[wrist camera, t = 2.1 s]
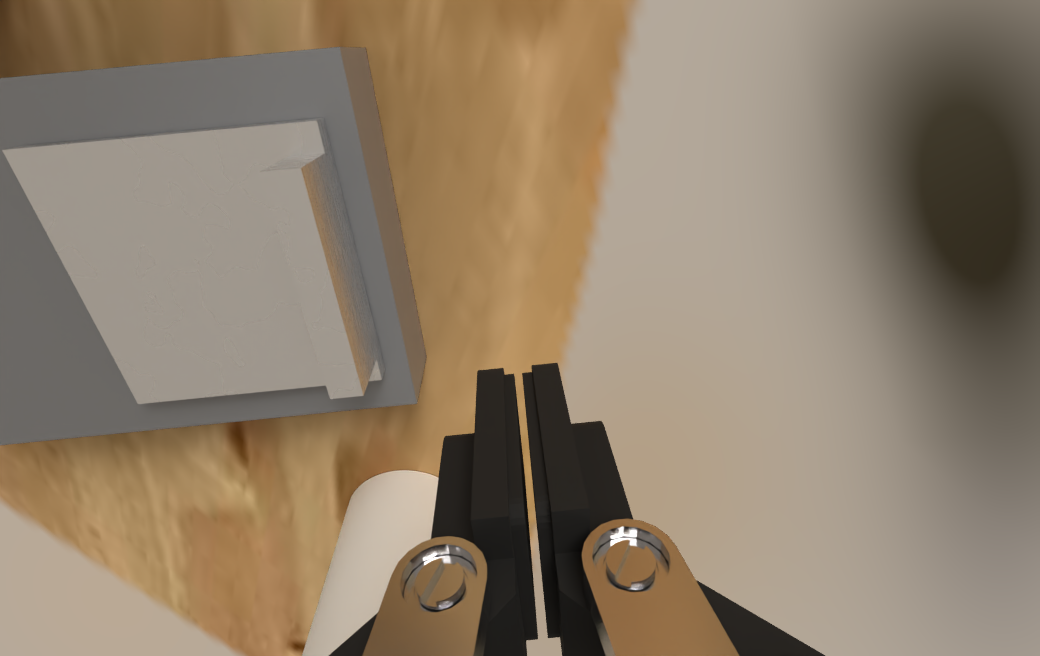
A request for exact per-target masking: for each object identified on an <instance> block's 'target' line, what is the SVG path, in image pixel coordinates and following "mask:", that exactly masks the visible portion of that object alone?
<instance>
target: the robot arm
mask: <svg viewBox="0 0 1040 656" xmlns="http://www.w3.org/2000/svg"><path fill="white" fill-rule="evenodd" d="M522 375H523V385H524V396H525V407H526V417H527V428H528V438H529V449H530V459H531V470H532V480H533V490H534V501H535V511H536V521H537V531H538V541H539V551H540V561H541V572H542V582H543V592H544V602H545V612H546V623H547V633H548V638H554V637H560V640H561V649H562V656H825V655H823V654H822V653H820V652H818V651H816V650H815V649H813V648H811V647H810V646H808V645H806V644H804V643H803V642H801V641H799V640H798V639H796V638H794V637H792V636H791V635H789V634H787V633H785V632H784V631H782V630H781V629H778V628H777V627H775V626H774V625H772V624H770V623H769V622H767V621H765V620H763V619H762V618H760V617H758V616H757V615H755V614H753V613H752V612H750V611H748V610H746V609H744V608H743V607H741V606H739V605H738V604H736V603H734V602H733V601H731V600H729V599H728V598H726V597H724V596H722V595H721V594H719V593H717V592H715V591H714V590H712V589H711V588H709V587H707V586H705V585H704V584H702V583H700V582H699V581H697V580H696V579H695V578H694V576H693V574H692V572H691V571H690V569H689V567H688V566H687V564H686V562H685V560H684V559H683V557H682V555H681V553H680V552H679V550H678V548H677V546H676V545H675V544H674V543H673V542H672V540H671V539H670V538H669V536H668V535H667V534H665V533H664V532H663V531H661V530H660V529H658V528H657V527H656V526H653V525H651V524H648V523H646V522H644V521H640V520H633V517H632V514H631V511H630V508H629V505H628V501H627V498H626V495H625V492H624V488H623V485H622V482H621V479H620V475H619V472H618V470H617V466H616V463H615V459H614V456H613V453H612V450H611V447H610V443H609V440H608V437H607V434H606V431H605V427H604V425H603V423H602V422H601V421H596V422H586V423H575V424H571V422H570V417H569V413H568V408H567V404H566V399H565V395H564V390H563V386H562V381H561V377H560V372H559V367H558V364H557V363H551V364H541V365H532V372H529V373H522ZM534 639H538V633H537V622H536V609H535V596H534V584H533V571H532V559H531V546H530V534H529V522H528V509H527V497H526V485H525V474H524V464H523V455H522V445H521V435H520V426H519V416H518V406H517V397H516V387H515V377H514V374H508V375H504V369H503V368H499V369H489V370H478V372H477V392H476V414H475V433H472V434H462V435H452V436H445V438H444V441H443V448H442V456H441V463H440V471H439V479H438V487H437V495H436V502H435V510H434V518H433V526H432V533H431V539H430V540H427V541H424V542H422V543H420V544H419V545H417V546H415V547H414V548H412V549H411V550H409V551H408V552H407V553H406V554H405V555H404V556H403V558H402V559H401V560H400V561H399V562H398V564H397V566H396V567H395V569H394V571H393V573H392V575H391V578H390V581H389V583H388V586H387V589H386V592H385V595H384V597H383V600H382V603H381V606H380V608H379V611H378V613H377V614H376V615H374V616H373V617H372V618H371V619H370V620H369V621H368V622H366V623H365V624H364V625H363V626H362V627H361V628H360V629H358V630H357V631H356V632H355V633H354V634H353V635H352V636H350V637H349V638H348V639H347V640H346V641H345V642H344V643H342V644H341V645H340V646H339V647H338V648H337V649H336V650H334V651H333V652H332V653H331V654H330V655H329V656H527V649H526V640H534Z"/></svg>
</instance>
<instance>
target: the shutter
mask: <svg viewBox="0 0 1040 656" xmlns="http://www.w3.org/2000/svg"><path fill="white" fill-rule="evenodd" d="M2 151H3V153H4V155H5V157H6V158H7V160H8V162H9V164H10V166H11V168H12V170H13V172H14V173H15V175H16V177H17V179H18V181H19V183H20V185H21V186H22V188H23V190H24V192H25V194H26V196H27V198H28V200H29V201H30V203H31V205H32V207H33V209H34V211H35V213H36V214H37V216H38V218H39V220H40V222H41V224H42V226H43V228H44V229H45V231H46V233H47V235H48V237H49V239H50V241H51V242H52V244H53V246H54V248H55V250H56V252H57V254H58V256H59V257H60V259H61V261H62V263H63V265H64V267H65V269H66V271H67V272H68V274H69V276H70V278H71V280H72V282H73V284H74V285H75V287H76V289H77V291H78V293H79V295H80V297H81V299H82V300H83V302H84V304H85V306H86V308H87V310H88V312H89V313H90V315H91V317H92V319H93V321H94V323H95V325H96V327H97V328H98V330H99V332H100V334H101V336H102V338H103V340H104V342H105V343H106V345H107V347H108V349H109V351H110V353H111V355H112V356H113V358H114V360H115V362H116V364H117V366H118V368H119V370H120V371H121V373H122V375H123V377H124V379H125V381H126V383H127V384H128V386H129V388H130V390H131V392H132V394H133V396H134V398H135V399H136V401H137V403H138V404H144V403H154V402H165V401H175V400H185V399H195V398H205V397H215V396H225V395H235V394H245V393H255V392H265V391H275V390H286V389H296V388H306V387H316V386H326V387H327V391H328V394H329V397H330V399H336V398H346V397H356V396H364V393H365V390H366V387H367V385H368V382H369V381H376V380H382V378H383V375H384V372H385V367H384V363H383V358H382V354H381V350H380V346H379V342H378V338H377V334H376V330H375V326H374V322H373V318H372V313H371V309H370V305H369V301H368V297H367V293H366V289H365V285H364V281H363V277H362V273H361V268H360V264H359V260H358V256H357V252H356V248H355V244H354V240H353V236H352V232H351V228H350V223H349V219H348V215H347V211H346V207H345V203H344V199H343V195H342V191H341V187H340V183H339V178H338V174H337V170H336V166H335V162H334V158H333V154H332V150H331V146H330V142H329V138H328V133H327V129H326V125H325V121H324V118H316V119H305V120H295V121H284V122H273V123H263V124H252V125H241V126H231V127H220V128H209V129H199V130H188V131H177V132H167V133H156V134H145V135H135V136H124V137H113V138H103V139H92V140H81V141H71V142H60V143H49V144H39V145H28V146H20V147H15V148H10V149H5V150H2Z"/></svg>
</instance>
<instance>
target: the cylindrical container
mask: <svg viewBox="0 0 1040 656" xmlns="http://www.w3.org/2000/svg"><path fill="white" fill-rule="evenodd" d="M438 479H439V478H438V477H436V476H433V475H431V474H428V473H423V472H419V471H410V470H400V471H391V472H386V473H382V474H379V475H377V476H374V477H372V478H370V479H368V480H367V481H365V482H364V483H362V484H361V485H360V486H359V487H358V488H357V489H356V490H355V492H354V493H353V495H352V496H351V499H350V502H349V505H348V508H347V511H346V515H345V518H344V521H343V524H342V528H341V531H340V534H339V537H338V541H337V544H336V547H335V550H334V554H333V557H332V560H331V563H330V567H329V570H328V573H327V576H326V580H325V583H324V586H323V589H322V593H321V596H320V599H319V602H318V606H317V609H316V612H315V615H314V618H313V622H312V625H311V628H310V631H309V635H308V638H307V641H306V644H305V648H304V651H303V654H302V656H329V655H330V654H331V653H332V652H333V651H334V650H336V649H337V648H338V647H339V646H340V645H341V644H342V643H344V642H345V641H346V640H347V639H348V638H349V637H350V636H352V635H353V634H354V633H355V632H356V631H357V630H358V629H360V628H361V627H362V626H363V625H364V624H365V623H366V622H368V621H369V620H370V619H371V618H372V617H373V616H374V615H376V614H377V613H378V611H379V608H380V606H381V603H382V600H383V597H384V595H385V592H386V589H387V586H388V583H389V581H390V578H391V575H392V573H393V571H394V569H395V567H396V566H397V564H398V562H399V561H400V560H401V559H402V558H403V556H404V555H405V554H406V553H407V552H408V551H409V550H411V549H412V548H414V547H415V546H417V545H419V544H420V543H422V542H424V541H427V540H430V539H431V533H432V526H433V518H434V510H435V502H436V495H437V487H438Z"/></svg>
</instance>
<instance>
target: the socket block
mask: <svg viewBox="0 0 1040 656" xmlns="http://www.w3.org/2000/svg"><path fill="white" fill-rule="evenodd" d="M316 118H324V121H325V125H326V129H327V133H328V138H329V142H330V146H331V150H332V154H333V158H334V162H335V166H336V170H337V174H338V178H339V183H340V187H341V191H342V195H343V199H344V203H345V207H346V211H347V215H348V219H349V223H350V228H351V232H352V236H353V240H354V244H355V248H356V252H357V256H358V260H359V264H360V268H361V273H362V277H363V281H364V285H365V289H366V293H367V297H368V301H369V305H370V309H371V313H372V318H373V322H374V326H375V330H376V334H377V338H378V342H379V346H380V350H381V354H382V358H383V363H384V367H385V372H384V375H383V378H382V380H376V381H369V382H368V385H367V387H366V390H365V393H364V396H356V397H346V398H336V399H330V397H329V394H328V391H327V387H326V386H316V387H306V388H296V389H286V390H275V391H265V392H255V393H245V394H235V395H225V396H215V397H205V398H195V399H185V400H175V401H165V402H154V403H144V404H138V403H137V401H136V399H135V398H134V396H133V394H132V392H131V390H130V388H129V386H128V384H127V383H126V381H125V379H124V377H123V375H122V373H121V371H120V370H119V368H118V366H117V364H116V362H115V360H114V358H113V356H112V355H111V353H110V351H109V349H108V347H107V345H106V343H105V342H104V340H103V338H102V336H101V334H100V332H99V330H98V328H97V327H96V325H95V323H94V321H93V319H92V317H91V315H90V313H89V312H88V310H87V308H86V306H85V304H84V302H83V300H82V299H81V297H80V295H79V293H78V291H77V289H76V287H75V285H74V284H73V282H72V280H71V278H70V276H69V274H68V272H67V271H66V269H65V267H64V265H63V263H62V261H61V259H60V257H59V256H58V254H57V252H56V250H55V248H54V246H53V244H52V242H51V241H50V239H49V237H48V235H47V233H46V231H45V229H44V228H43V226H42V224H41V222H40V220H39V218H38V216H37V214H36V213H35V211H34V209H33V207H32V205H31V203H30V201H29V200H28V198H27V196H26V194H25V192H24V190H23V188H22V186H21V185H20V183H19V181H18V179H17V177H16V175H15V173H14V172H13V170H12V168H11V166H10V164H9V162H8V160H7V158H6V157H5V155H4V153H3V151H2V150H5V149H10V148H15V147H20V146H28V145H39V144H49V143H60V142H71V141H81V140H92V139H103V138H113V137H124V136H135V135H145V134H156V133H167V132H177V131H188V130H199V129H209V128H220V127H231V126H241V125H252V124H263V123H273V122H284V121H295V120H305V119H316ZM425 362H426V352H425V347H424V342H423V337H422V332H421V326H420V321H419V316H418V311H417V306H416V301H415V296H414V291H413V286H412V281H411V276H410V270H409V265H408V260H407V255H406V250H405V245H404V240H403V235H402V230H401V225H400V220H399V214H398V209H397V204H396V199H395V194H394V189H393V184H392V179H391V174H390V169H389V164H388V159H387V153H386V148H385V143H384V138H383V133H382V128H381V123H380V118H379V113H378V108H377V103H376V97H375V92H374V87H373V82H372V77H371V72H370V67H369V62H368V57H367V52H366V48H357V47H334V48H323V49H312V50H301V51H290V52H279V53H269V54H258V55H247V56H236V57H225V58H214V59H204V60H193V61H182V62H171V63H160V64H149V65H139V66H128V67H117V68H106V69H95V70H84V71H74V72H63V73H52V74H41V75H30V76H19V77H9V78H0V445H8V444H18V443H28V442H38V441H48V440H58V439H68V438H78V437H88V436H98V435H108V434H118V433H128V432H138V431H148V430H158V429H168V428H178V427H188V426H198V425H208V424H218V423H228V422H238V421H248V420H258V419H268V418H278V417H288V416H298V415H308V414H318V413H328V412H338V411H348V410H359V409H369V408H379V407H389V406H399V405H409V404H417V402H418V397H419V392H420V387H421V382H422V377H423V372H424V367H425Z"/></svg>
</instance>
